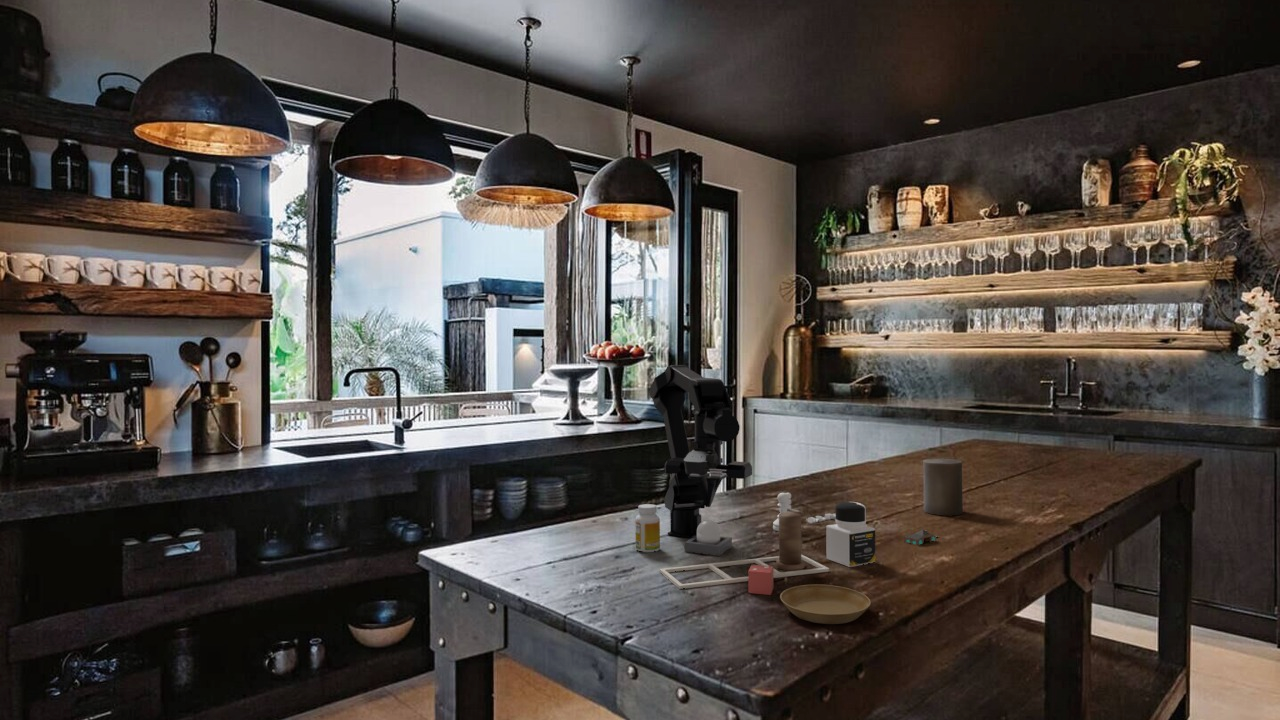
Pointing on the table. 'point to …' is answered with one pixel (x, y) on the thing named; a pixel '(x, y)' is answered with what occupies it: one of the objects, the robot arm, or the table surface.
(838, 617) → the plant saucer
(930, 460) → the pillar candle
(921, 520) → the table surface
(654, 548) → the supplement bottle
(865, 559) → the medicine bottle
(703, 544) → the dome base
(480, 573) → the table surface
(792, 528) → the brown flanged cylinder
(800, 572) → the track
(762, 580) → the red die
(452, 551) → the table surface
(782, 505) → the chess pawn
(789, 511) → the game pieces
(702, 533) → the white ball
